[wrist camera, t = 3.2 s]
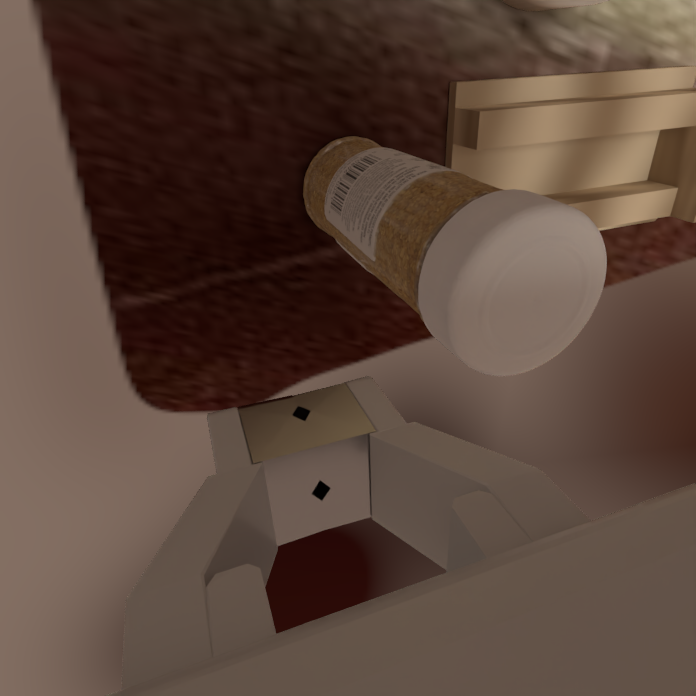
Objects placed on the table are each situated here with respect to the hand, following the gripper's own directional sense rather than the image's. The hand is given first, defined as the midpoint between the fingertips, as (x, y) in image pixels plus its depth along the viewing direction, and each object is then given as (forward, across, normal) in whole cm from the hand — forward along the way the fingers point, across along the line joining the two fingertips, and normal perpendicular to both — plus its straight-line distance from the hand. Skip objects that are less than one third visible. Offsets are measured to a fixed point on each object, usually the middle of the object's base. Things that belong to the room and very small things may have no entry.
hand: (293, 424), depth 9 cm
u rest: (+15, -18, -1) cm, 24 cm away
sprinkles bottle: (+15, -6, -1) cm, 17 cm away
